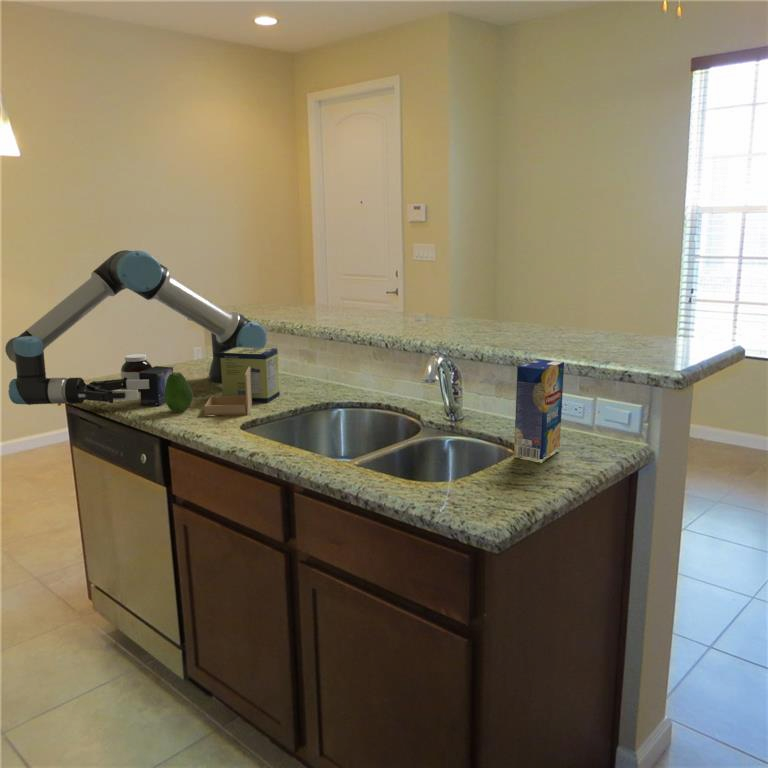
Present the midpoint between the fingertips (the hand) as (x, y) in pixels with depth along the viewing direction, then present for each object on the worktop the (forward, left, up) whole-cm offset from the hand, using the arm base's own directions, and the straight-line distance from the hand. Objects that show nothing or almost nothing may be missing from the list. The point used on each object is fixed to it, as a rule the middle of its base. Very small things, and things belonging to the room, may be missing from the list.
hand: (143, 389), depth 206 cm
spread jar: (-14, -32, -7) cm, 36 cm away
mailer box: (-18, +15, -7) cm, 25 cm away
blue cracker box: (-46, +104, -7) cm, 114 cm away
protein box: (-32, +7, -7) cm, 34 cm away
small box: (-9, -10, -7) cm, 15 cm away
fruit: (-8, +6, -7) cm, 12 cm away
